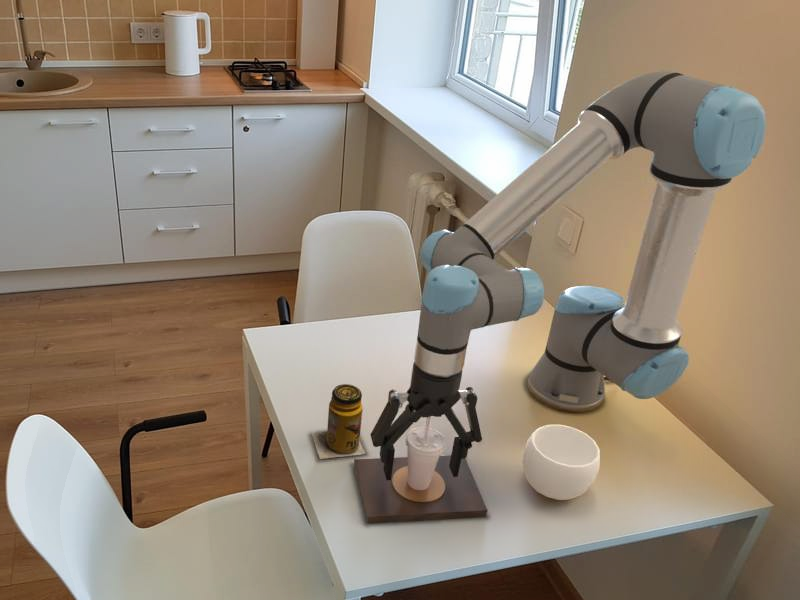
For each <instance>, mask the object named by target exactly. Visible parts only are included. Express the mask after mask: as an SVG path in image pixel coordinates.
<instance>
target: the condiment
mask: <svg viewBox="0 0 800 600" xmlns="http://www.w3.org/2000/svg"><path fill="white" fill-rule="evenodd" d="M362 397H363V394H362V391H361V389H360V388H359V387H357V386H355V385H354V384H353V385H352V384H347V383H342V384H339V385H337V386H335V387H334V388H333V390H332V391H331V399H330V401H329V403H328V415H327V417H328V418H327V430H326V431H315V432H311V437H312V440H313V443H314V446H315V450H316V452H317V455H318V457H319V460H324V459H330V458H333V459H334V458H342V457H344V458H345V457H352V456H361V455H365V454H366V452H365V450H364V447H363V445H362V443H361V441H360V440H361V439H360V438H361V428H362V418H363V417H362V416H363V411H364V410H363V403H362Z"/></svg>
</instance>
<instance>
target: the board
mask: <svg viewBox="0 0 800 600" xmlns="http://www.w3.org/2000/svg"><path fill="white" fill-rule="evenodd" d="M450 459H451V454H440V456H439V459H438V462H437V465H436V467H435V470H434V473H433V476H432V479H431V482H430V485H429V487H428V488H427V489H425V490H415V489H413V488H411V487H410V486H409V484H408V456H400V457H397V456H396V457H394V462H393V469H392V476H391V480H386V477H385V473H384V470H383V469H384V463H382V461H381V458H380V457H379V458H378V457H377V458H376V457H375V458H355V459H354V460H353V469H354V472H355V473H354V474H355V477H356V480H357V485H358V489H359V494H360V498H361V502H362V506H363V510H364V514H365V519H366V522H367V523H366V524H380V523H398V522H413V521H417V522H418V521H431V520H432V521H433V520H434V521H435V520H450V519H467V518H485V517H487V514H488V507H487V506H486V504H485V501H484V499H483V497H482V494H481V492H480V490H479V487H478V485H477V483H476V480H475V478H474V476H473V473H472V471H471V468H470V467H469V464H468V461H467V460H466V458H465V459H461V463H460V468H459V473H458V477H453V475H452V472H451V470H450V467H449V464H450Z"/></svg>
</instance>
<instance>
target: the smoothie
mask: <svg viewBox="0 0 800 600" xmlns="http://www.w3.org/2000/svg"><path fill="white" fill-rule="evenodd" d="M431 417H432V416H430V417H426V422H425V426H418V427H415V428H412V429H410V430H409V431H408V432H407V433H406V438H405V445H406V446H407V450H406V451H407V457H408V484H409V486H410V487H411V488H413V489H415V490H425V489H427V488H428V487H429V485H430V482H431V479H432V476H433V473H434V470H435V467H436V465H437V462H438V459H439V456H440V455H441V453H442V452H443V451H444V450H445V446H446V439H445V437H444V435H443V434H442V433H441V432H440V431H438V430H436V429H434V428H431V427H430V424H431Z"/></svg>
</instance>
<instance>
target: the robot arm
mask: <svg viewBox="0 0 800 600" xmlns="http://www.w3.org/2000/svg"><path fill="white" fill-rule="evenodd" d="M766 121H767V119H766V113H765V109H764V108H763V106H762V105H761V102H760V101H759V99H758V98H757V97H756V96H754V95H752V94H750V93H748V92H744V91H741V90H740V89H738V88H736V87H733V86H731V85H726V84H725V85H724V84H721V83H717V82H712V81H709V80H704V79H701V78H697V77H693V76H689V75H685V74H682V73H680V72H677V71H671V70H670V71H669V70H659V71H653V72H649V73H645V74H642V75H639V76H636V77H633V78H631V79H629V80H627V81H625V82H623V83H620V84H619V85H617V86H615V87H614V88H612V89H610V90H609V91H607V92H606V93H603V95H601V96H600V97H598V98H597V99H596V100H595V101H593V102H592V103H591V104H589V106H587V107H586V108H585V109H584V110H583V111H581V113H580V114H578V117H577V124H576V125H575V126H574V127H573V128H572V129H570V130H569V131H568V132H567V133H566V134H565V135H563V136H562V137H561V138H560V139H559V140H558V141H557V142H556V143H554V144H553V145H552V146H551V147H549V149H547V151H545V152H544V153H543V154H542V155H540V157H538V158H537V160H535V161H534V162H533V163H532V164H531V165H529V166H528V167H527V168H526V169H525V170H524V171H522V172H521V173H520V174H519V175H518V176H517V177H515V178H514V179H513V180H512V181H511V182H510V183H508V184H507V185H506V186H505V187H504V188H503V189H502V190H501V191H500V192H498V193H497V194H496V195H495V196H494V197H493V198H492V199H490V201H488V202H487V203H486V204H485V205H484V206H482V207H481V208H480V209H479V210H478V211H477V212H476V213H474V214H473V215H472V216H471V217H470V218H468V220H466V221H465V222H464V223H463V224H462V225H461V226H459V228H457V229H456V230H455V231H451V230H447V229H440V230H437V231H434V232H432V233H431V234H429V235H428V237H426V239H425V240H424V242H423V243H422V245H421V247H420V254H419V256H420V262H421V265H422V267H423V268H424V269H425V270H426V271H427V272H428V273H427V275H426V278H425V282H424V286H423V290H422V291H423V292H422V294H421V296H420V297H421V298H420V299H421V300H420V302H421V305H420V313H419V322H418V328H417V337H416V342H415V350H414V357H413V364H412V370H411V376H410V377H411V378H410V385H409V388H408V389H407V390H406V392H397V390H396V389H391V390H389V391H388V397H387V402H386V404H385V406H384V408H383V410H382V412H381V414H380V416H379V418H378V419H377V421H376V423H375V425H374V427H373V429H372V431H371V433H370V440H371V443H372V446H373V447H374V448H378V447H380V448H379V458H381V461H382V463H384V469H383V470H384V473H385V477H386V480H391V476H392V469H393V462H394V458H395V454H396V449H395V444H396V443H397V442H398V440H399V439H400V438H401V437H402V436H403V435H404V434H405V433H406V432H407V431H408V430H409V428H410V427H411V426H412V425H413V424H414V423H418V421H420V419H421V418H427V417H430V416H431V417H435V418H442V416H445V417H446V419H447V421H448V422H449V423H450V425H451V426H452V428H453V430H454V431H455V433H456V435H457V436H454V439H453V444H452V449H451V453H450V455H451V459H450V464H449V467H450V470H451V472H452V475H453V477H458V473H459V468H460V463H461V459H466V458H467V457H468V453H469V450H470V449H472V447H473V444H472V443H474V442H476V443H480V442H482V441H483V435H482V430H481V425H480V422H479V416H478V413H477V402H478V396H477V394H476V392H475V389H474V388H473V386H468V387H466V388H465V390H462V389H461V390H460V387H461V382H462V376H463V369H464V366H465V362H466V361H465V360H466V355H467V354H466V353H467V349H468V345H469V339H470V336H471V331H473V330H477V329H483V328H485V327H490V326H494V325H495V326H496V325H499V324H504V323H509V322H518V321H519V320H521V319H524V318H527V317H531V316H533V315H535V314H536V313H538V312H539V311H540V310H541V308H542V306H543V303H544V299H545V287H544V283H543V281H542V279H541V277H540V275H539V274H538V273H537V272H536V271H535V270H533V269H531V268H528V267H520V268H518V267H515V268H512V269H507V268H506V267H504V266H503V265H501V264H500V263H498V262H497V261H496V260H494V259H495V258H496V257H497V256H498V255H499V254H501V253H502V252H503V251H504V250H505V249H506V248H508V247H509V246H510V245H511V244H512V243H513V242H515V241H516V240H517V239H518V238H519V237H520V236H521V235H523V234H524V233H525V232H526V231H527V230H528V229H530V227H532V226H534V224H535V223H536V222H537V221H539V220H540V219H541V218H542V217H544V216H545V215H546V214H547V213H548V212H549V211H550V210H552V208H554V207H555V206H556V205H557V204H559V203H560V202H561V201H562V200H563V199H564V198H565V197H567V196H568V195H569V194H570V193H571V192H572V191H574V190H575V189H576V188H577V187H578V186H579V185H581V184H582V183H583V182H584V181H585V180H586V179H588V178H589V176H591V175H592V174H593V173H595V171H597V170H598V169H599V168H600V167H601V166H602V165H603V164H605V163H606V162H607V161H608V160H618V159H620V158H621V157H622V156H624V154H625V153H627V152H629V150H633V149H635V148H636V149H637V148H642V149H644V150H648V151H650V152H652V153H653V155H652V159H651V162H650V167H649V174H650V176H651V177H652V178H653V180H654V181H655V182H656V185H655V189H654V193H653V196H652V200H651V204H650V207H649V212H648V215H647V220H646V223H645V227H644V231H643V235H642V238H641V243H640V247H639V250H638V254H637V258H636V260H635V265H634V270H633V273H632V276H631V280H630V285H629V288H628V292H627V295H626V299H625V300H626V301H625V304H624V298H623V297H622V295H621V294H620V293H618V292H616V291H614V290H611V289H609V288H605V287H600V286H592V285H580V286H579V285H578V286H571V287H569V288H567V289H565V290H563V292H562V293H560V295H559V297H558V300H557V303H556V306H555V307H554V311H553V316H552V320H551V326H550V329H549V332H548V337H547V342H546V346H545V348H544V349H545V350H544V351H543V354H542V355H541V357H540V358H539V359H538V361H536V364H535V365H534V366H533V368H531V371H530V372H529V375H528V379H527V388H528V390H529V392H530V394H531V395H532V396H533V397H534V398H535V399H537V400H538V401H539V402H540V403H541V404H544V405H546V406H548V407H550V408H552V409H556V410H560V411H562V412H569V413H586V412H591V411H593V410H595V409H597V408H598V407H600V406H601V405H602V402H603V400H604V397H605V393H606V392H605V389H606V388H605V381H609V382H611V383H613V384H614V385H616V386H617V387H618V388H620V389H621V391H623V392H626V393H627V394H630V395H631V396H632V397H634V398H636V399H639V400H648V399H649V400H650V399H652V398H655V397H657V396H660V395H662V394H663V393H665V392H666V391H667V390H669V389H670V388H671V387H672V386H674V384H675V383H677V382H678V381H679V380H680V378H681V377H682V375H683V374H684V372H685V371H686V369H687V368H688V365H689V362H690V355H689V353H688V351H686V349H685V348H684V347H681V346H680V345H679V343H680V340H681V337H682V335H683V326H682V324H681V323H680V321H679V320H678V319H677V317H678V314H679V311H680V308H681V305H682V302H683V298H684V296H685V292H686V289H687V286H688V283H689V279H690V277H691V273H692V270H693V267H694V263H695V260H696V257H697V254H698V251H699V247H700V244H701V242H702V238H703V236H704V235H703V234H704V232H705V229H706V225H707V222H708V219H709V216H710V213H711V209H712V206H713V202H714V200H715V196H716V193H717V191H720V190H722V189H723V188H725V187H727V186H729V184H731V182H732V179H733V178H735V177H737V176H739V175H741V174H743V173H744V172H745V171H746V170H747V169H749V167H750V166H751V164H752V159H755V158H757V156H758V155H759V153H760V150H761V148H762V145H763V143H764V139H765V136H766V130H767V129H766V128H767V122H766ZM460 400H461V402H462V404H463V405H464V408H465V412H466V417H467V422H468V425H469V431H466V429H465V428H464V426H463V424H462V423H461V421H460V419H459V418H458V416H457V415H456V413H455V411H454V409H453V407H454V406H455V405H456V404H457V403H458V402H459V401H460ZM405 402H407V404H406V405H405V407H404V410H403V411H402V413H401V414H400V415H399V416H398V417H397V415H398V413H399V409H402V408H403V405H404V403H405ZM396 417H397V418H396Z"/></svg>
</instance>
